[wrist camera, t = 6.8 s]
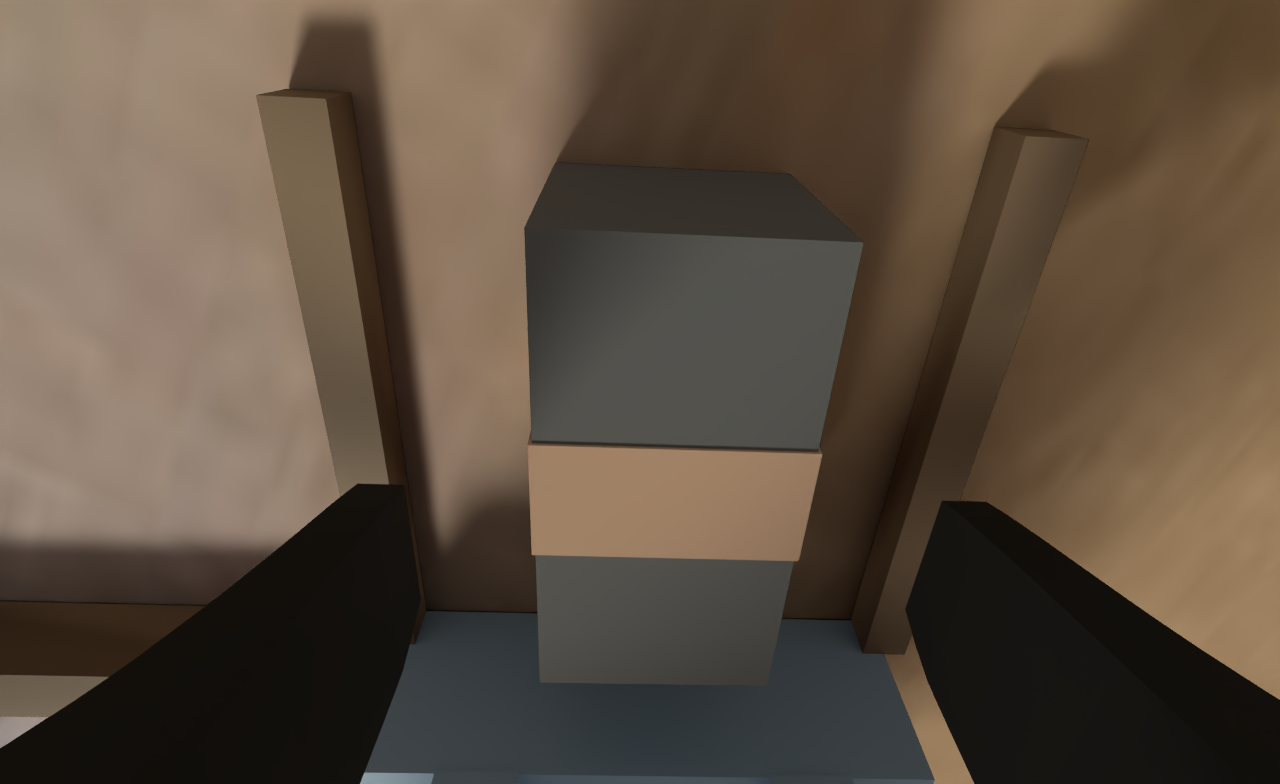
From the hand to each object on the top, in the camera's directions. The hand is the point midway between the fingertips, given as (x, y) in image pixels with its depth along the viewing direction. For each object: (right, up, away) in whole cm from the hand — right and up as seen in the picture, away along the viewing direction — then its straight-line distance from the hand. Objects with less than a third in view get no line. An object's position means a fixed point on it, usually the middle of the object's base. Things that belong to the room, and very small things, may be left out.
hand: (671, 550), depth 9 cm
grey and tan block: (0, +3, +4) cm, 5 cm away
